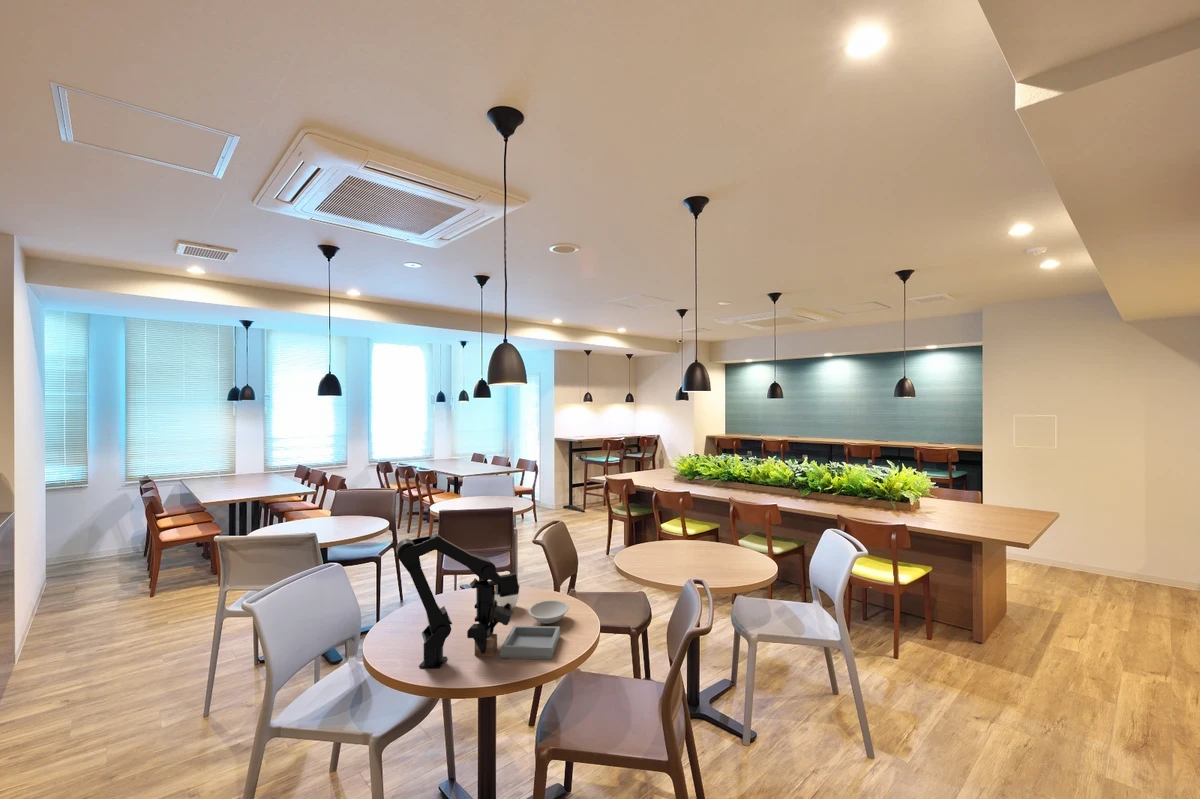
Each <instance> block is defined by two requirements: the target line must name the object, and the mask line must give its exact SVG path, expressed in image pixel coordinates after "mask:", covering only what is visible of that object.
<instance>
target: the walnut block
mask: <svg viewBox="0 0 1200 799" xmlns="http://www.w3.org/2000/svg"><path fill="white" fill-rule="evenodd" d="M497 651H498V633H493V634H490V636H489V637H487V644H486V650H485V653H481V651H480V649H479V648H478V646H477V644H476V642H475V641H474V656H484V657H485V656H486V657H487V656H489V657H491V656H492V657H494V655H495V654H496V652H497Z"/></svg>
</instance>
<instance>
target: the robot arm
mask: <svg viewBox="0 0 1200 799" xmlns="http://www.w3.org/2000/svg"><path fill="white" fill-rule="evenodd" d="M395 551H396V554H397V558H398V560H399V561H400V563H401V564H402V565H403V567H404V568H405V570H406V571H407V572H408V573H409V575H410V578H411V579H412V582H413V585H414V586H415V589H416V591H417V593H418V596H419V597H420V600H421V604H422V605H423V607H424V610H425V612H426V619H427V623H428V624H427V626H426V628H425V629H424V630H423V631H422V632H421V636H422V638H423V639H422V640H423V641H424V643H423V660H422V662H421V663H420V664H419V665H418V667H419V668H420V669H422V668H424V669H439V668H441V667H442V666H443V665H444V663H445V662H446V661H447V659H448V656H447V655H445V656H444V645H445V642H446V639H447V638H448V637H449V635H451V632H452V625H453V622H452V620H451V618H450V616H449V614H448V611H447V609H446V606H445V605H443V606H442V607H441V608H440V606H439V605H438V603H437V602H436V599H435V596H434V594H433V592H432V590H431V587H430V586H429V585H430V584H429V582H428V581H427V577H426V576H425V573H424V570H423V569H422V565H421V560H420V559H421V558H420V557H422V556H425V555H426V554H428V553H430V552H431V553H432V552H433V551H437V552H438V553H441V554H443V555H445V556H446V557H448V558H451V559H452V560H454V561H456V562H458V563H460V564H461V565H463V566H465V567H466V568H467V569H469V571H471V572H472V573H474V575H475V576H477V577H478V578H479V579H480V580H479V579H477V578H475V577H474V578H473V581H470V583H469V586H470V587H471V589H476V590H475V591H476V595H475V596H476V597H475V598H476V602H475V604H474V609H476V616H475V617H474V622H478V623H472V625H470V627H469V628H468V629H467V631H466V634H467V635H466V637H467V638H468V639H473V640H474V643H475V642H476V644H477V646H478V648H479V649H480V651H481V653H485V650H486V644H487V637H489V636H490V634H494V631H495V626H497V625H498V624H502V625H503V626H508V625H509V623H510V622H511V620H512V617H513V614H514V609H512V607H511V604H509V603H507V604H505V605H504V607H503V606H498V605H497V601H496V600H495V591H496V594H497V595H498V594H499V596H500V597H506V596H512V595H517V594H518V592H519V593H520V588H519V585H520V584H519V585H518V583H519V582H518V579H517V574H516V573H515V572H511V573H507V574H502V575H500V574H499V573H498V571H497V569H496V568H497V567H496V564H494V563H493V561H491V559H490V558H487V557H484V556H482V555H477V554H474V553H470V552H469V551H467V550H465V549H463V548H461V547H459V546H458V545H455V544H454V543H453V542H450V541H449V540H447V539H445V538H443V537H441V535H439V534H437V533H436V534H435V533H434V534H431V535H428V536H422V537H421V536H420V537H417V538H413V539H411V538H404V539H401V540H399V542H398V543H397V545H396V546H395Z"/></svg>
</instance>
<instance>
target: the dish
mask: <svg viewBox="0 0 1200 799" xmlns="http://www.w3.org/2000/svg"><path fill="white" fill-rule="evenodd" d="M569 608H570V607H569V605H568V604H567V603H566V602H565V601H563V600H558V599H557V600H556V599H549V600H542V601H539V602H536V603H534V604H532V605H531V606H530V607H529V608H528V614H529V616H530V617H532V618H533V619H534V620H535V621H536V622H538V623H541V624H544V625H545V624H546V625H547V624H553V623H556V622H558V621H559V620H561V619H562V618H563V617H564V616H565V614H566V613H567V612H569Z"/></svg>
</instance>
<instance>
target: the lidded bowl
mask: <svg viewBox="0 0 1200 799" xmlns="http://www.w3.org/2000/svg"><path fill="white" fill-rule="evenodd" d="M518 585H519V589H520V587H521V586H520V583H519V582H518ZM519 597H520V591H519V592H518V594H517V595H512V596H506V597H500V596H499V594H498V595H497V594H496V591H495V600H496V601H497V605H498V606H503V607H504V605H505V604H507V603H509V604H511V607H512V608H513V609H514V608H515V606H516V605H517V603H518V601H519Z"/></svg>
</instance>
